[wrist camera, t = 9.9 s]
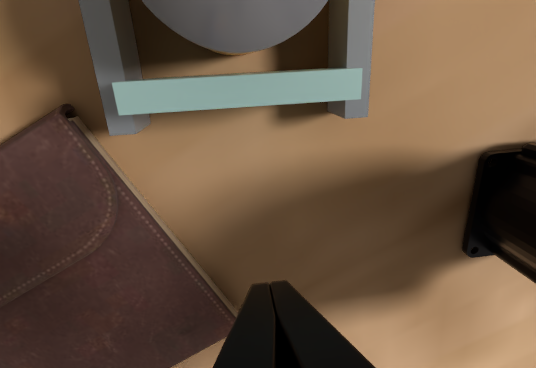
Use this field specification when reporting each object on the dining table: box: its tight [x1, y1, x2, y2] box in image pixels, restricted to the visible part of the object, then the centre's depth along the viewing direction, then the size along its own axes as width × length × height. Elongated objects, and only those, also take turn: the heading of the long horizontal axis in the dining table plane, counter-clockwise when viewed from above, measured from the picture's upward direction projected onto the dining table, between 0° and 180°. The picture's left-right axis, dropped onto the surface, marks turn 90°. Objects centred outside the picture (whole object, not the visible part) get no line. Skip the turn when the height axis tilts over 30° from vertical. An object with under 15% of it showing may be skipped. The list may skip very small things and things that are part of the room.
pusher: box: [112, 68, 363, 115], centre depth 12 cm, size 1×8×4 cm, turn 93°
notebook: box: [0, 104, 238, 368], centre depth 17 cm, size 15×20×2 cm
